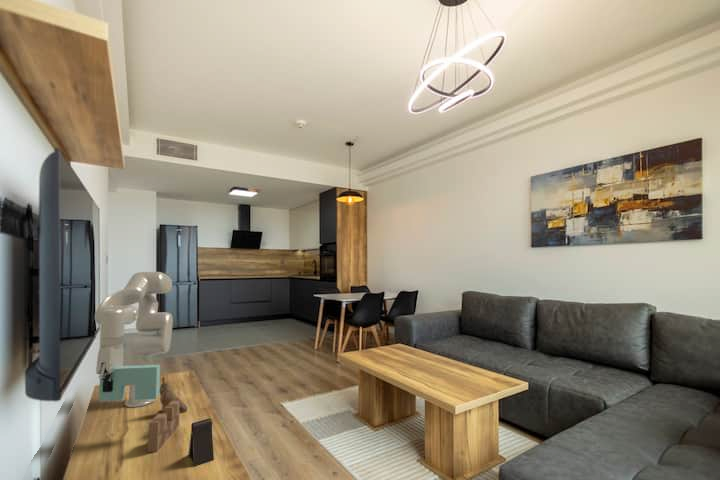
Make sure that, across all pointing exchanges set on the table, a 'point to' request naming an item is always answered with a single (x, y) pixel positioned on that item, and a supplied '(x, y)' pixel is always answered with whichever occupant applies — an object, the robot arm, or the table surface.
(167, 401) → the brown carved statuette
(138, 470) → the table surface
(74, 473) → the table surface
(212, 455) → the phone stand
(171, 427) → the walnut board
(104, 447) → the table surface
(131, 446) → the table surface
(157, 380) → the teal board
